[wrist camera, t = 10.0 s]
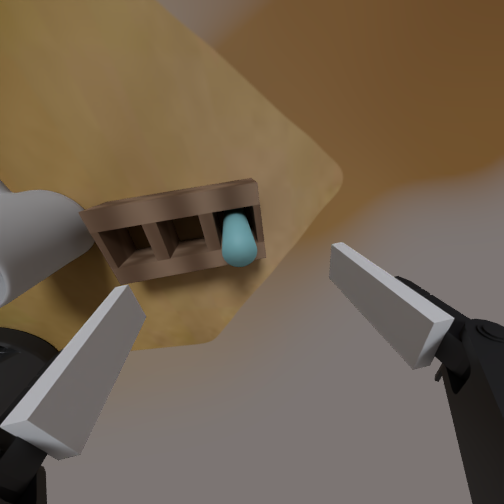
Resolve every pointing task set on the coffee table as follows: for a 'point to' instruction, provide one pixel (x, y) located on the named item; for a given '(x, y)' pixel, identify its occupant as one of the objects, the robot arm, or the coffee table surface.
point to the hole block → (170, 229)
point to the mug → (37, 238)
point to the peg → (237, 239)
